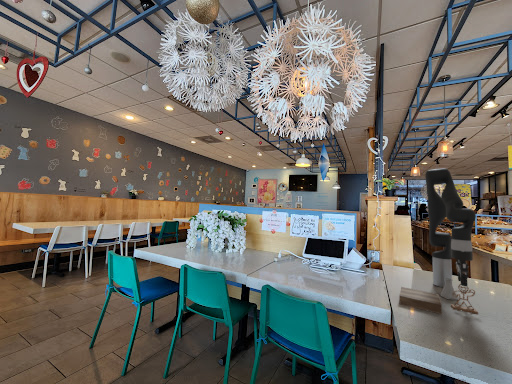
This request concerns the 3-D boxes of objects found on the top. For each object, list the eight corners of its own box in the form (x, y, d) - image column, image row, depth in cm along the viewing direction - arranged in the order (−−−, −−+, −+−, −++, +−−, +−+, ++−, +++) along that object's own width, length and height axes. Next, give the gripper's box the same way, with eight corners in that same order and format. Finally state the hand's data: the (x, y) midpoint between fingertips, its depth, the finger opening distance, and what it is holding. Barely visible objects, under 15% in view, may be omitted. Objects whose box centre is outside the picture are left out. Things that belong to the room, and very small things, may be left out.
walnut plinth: (401, 294, 121) (401, 286, 121) (438, 302, 111) (438, 294, 112) (399, 303, 108) (399, 295, 108) (441, 314, 99) (441, 305, 99)
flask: (461, 301, 114) (460, 281, 114) (445, 299, 115) (445, 280, 116) (452, 295, 121) (451, 277, 122) (437, 294, 122) (436, 276, 123)
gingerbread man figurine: (452, 309, 104) (451, 283, 105) (450, 306, 108) (450, 281, 108) (478, 314, 100) (477, 287, 100) (475, 311, 103) (474, 285, 104)
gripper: (449, 246, 114) (450, 278, 112) (453, 250, 102) (454, 285, 101) (469, 248, 109) (470, 281, 108) (475, 252, 98) (476, 289, 97)
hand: (462, 283), depth 104 cm, fingers open, 8 cm apart
